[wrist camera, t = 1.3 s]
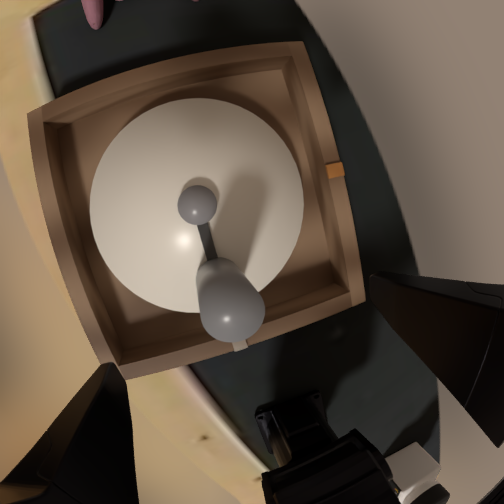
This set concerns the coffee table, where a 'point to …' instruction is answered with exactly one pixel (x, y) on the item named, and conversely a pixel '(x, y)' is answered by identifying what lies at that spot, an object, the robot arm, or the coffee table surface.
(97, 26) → the video game controller
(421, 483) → the medicine bottle
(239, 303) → the dial
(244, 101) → the dial frame
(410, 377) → the coffee table surface
